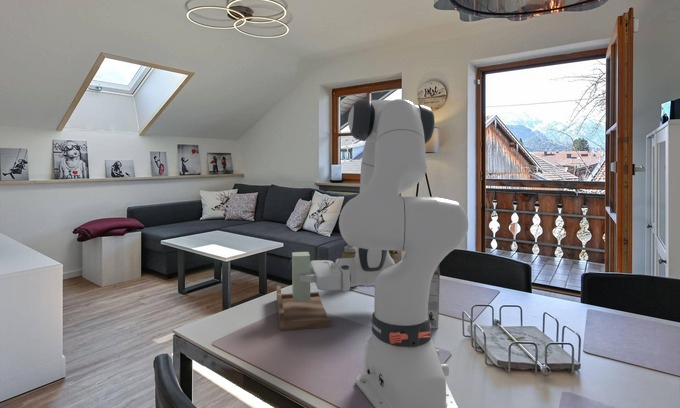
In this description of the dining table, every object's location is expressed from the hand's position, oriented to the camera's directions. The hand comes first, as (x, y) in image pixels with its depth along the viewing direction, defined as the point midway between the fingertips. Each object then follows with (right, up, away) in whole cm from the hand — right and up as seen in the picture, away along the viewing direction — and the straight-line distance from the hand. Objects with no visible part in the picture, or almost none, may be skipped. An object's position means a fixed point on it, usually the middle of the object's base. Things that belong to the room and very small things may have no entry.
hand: (298, 275), depth 122 cm
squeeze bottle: (+17, -9, +28) cm, 34 cm away
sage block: (+1, -7, +1) cm, 8 cm away
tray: (+1, -12, +1) cm, 12 cm away
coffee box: (+38, -13, -6) cm, 40 cm away
